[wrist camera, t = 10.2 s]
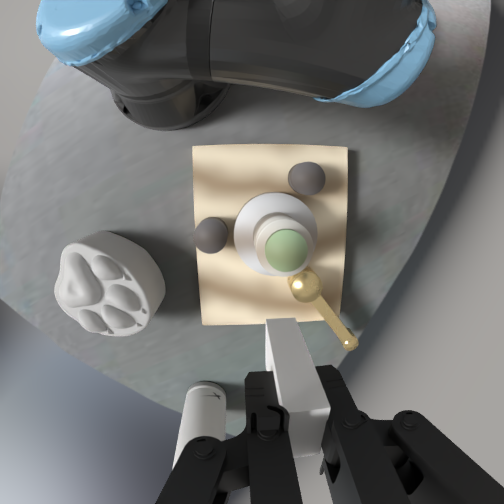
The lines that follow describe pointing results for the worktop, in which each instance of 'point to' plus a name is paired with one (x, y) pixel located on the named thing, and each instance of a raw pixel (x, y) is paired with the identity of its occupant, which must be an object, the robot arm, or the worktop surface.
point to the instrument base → (227, 197)
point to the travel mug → (202, 414)
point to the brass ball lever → (320, 303)
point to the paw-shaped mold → (109, 284)
